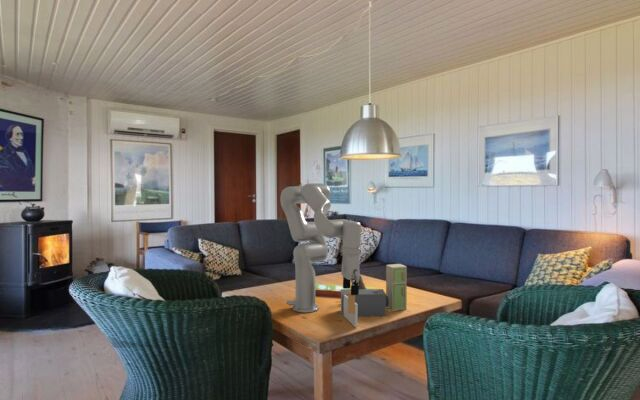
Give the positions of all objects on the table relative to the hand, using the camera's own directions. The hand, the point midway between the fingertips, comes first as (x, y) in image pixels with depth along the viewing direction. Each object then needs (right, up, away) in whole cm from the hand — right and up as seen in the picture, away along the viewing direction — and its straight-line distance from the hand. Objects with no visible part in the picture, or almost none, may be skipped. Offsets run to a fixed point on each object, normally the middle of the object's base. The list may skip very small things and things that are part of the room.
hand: (350, 291), depth 168 cm
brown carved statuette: (+9, -14, +36) cm, 40 cm away
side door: (-1, -14, +6) cm, 16 cm away
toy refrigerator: (+24, -14, +26) cm, 38 cm away
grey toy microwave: (+7, -14, +19) cm, 25 cm away
